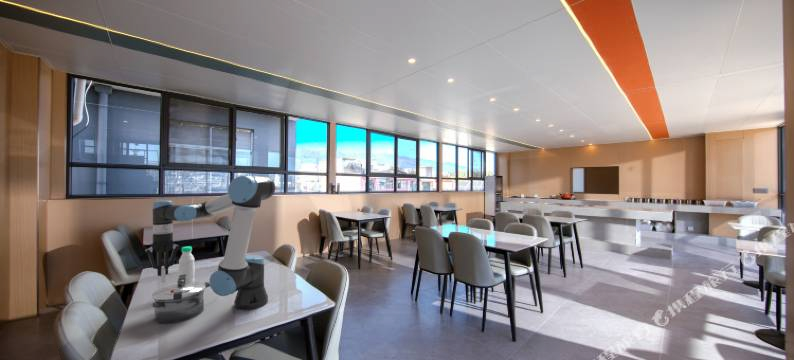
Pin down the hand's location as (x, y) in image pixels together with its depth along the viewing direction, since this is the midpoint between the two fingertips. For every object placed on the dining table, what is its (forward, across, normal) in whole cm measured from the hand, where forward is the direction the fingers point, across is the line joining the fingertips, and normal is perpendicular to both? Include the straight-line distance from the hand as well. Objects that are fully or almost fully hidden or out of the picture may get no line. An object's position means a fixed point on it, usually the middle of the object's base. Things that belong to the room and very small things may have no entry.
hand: (162, 281), depth 139 cm
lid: (+3, +5, -11) cm, 12 cm away
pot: (+13, +6, -12) cm, 19 cm away
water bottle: (+13, +14, +17) cm, 26 cm away
